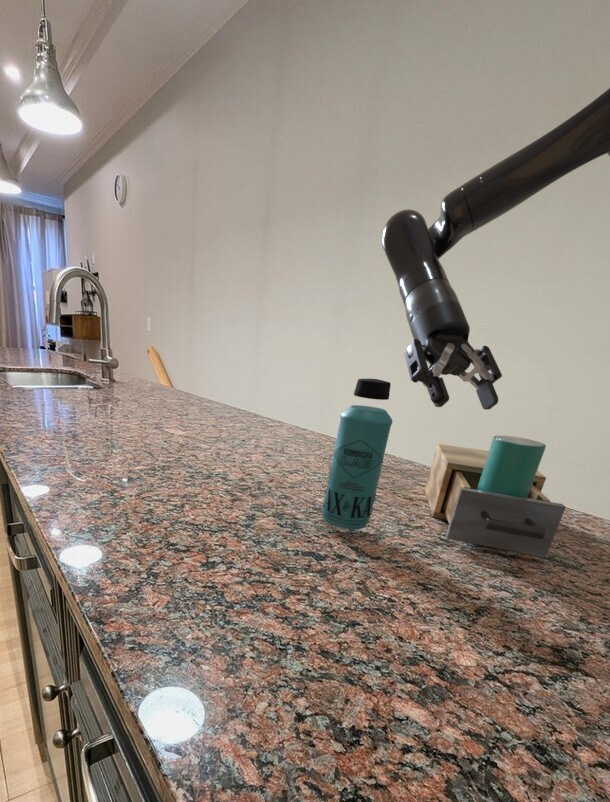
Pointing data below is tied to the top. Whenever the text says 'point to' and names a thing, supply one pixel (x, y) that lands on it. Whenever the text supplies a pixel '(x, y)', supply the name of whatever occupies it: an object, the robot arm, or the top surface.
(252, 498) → the top surface
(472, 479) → the drawer
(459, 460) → the cabinet
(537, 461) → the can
